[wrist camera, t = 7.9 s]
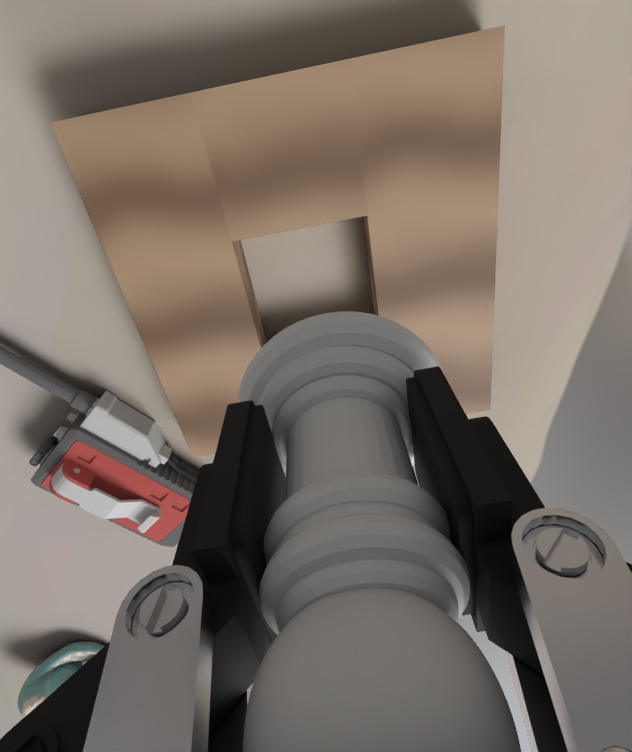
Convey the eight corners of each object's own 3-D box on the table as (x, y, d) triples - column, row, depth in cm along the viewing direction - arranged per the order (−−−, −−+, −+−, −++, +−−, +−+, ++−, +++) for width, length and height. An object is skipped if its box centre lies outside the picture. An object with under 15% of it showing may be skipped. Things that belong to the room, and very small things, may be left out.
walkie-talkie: (249, 471, 35) (-9, 315, 27) (243, 515, 31) (-59, 348, 23) (186, 529, 38) (-61, 404, 30) (173, 575, 34) (-112, 445, 27)
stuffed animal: (152, 738, 46) (26, 773, 44) (157, 666, 52) (47, 693, 50) (125, 688, 40) (-20, 725, 38) (134, 614, 46) (9, 642, 44)
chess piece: (293, 494, 14) (284, 1002, 6) (201, 355, 11) (-36, 934, 3) (463, 435, 13) (723, 955, 5) (405, 267, 10) (765, 802, 2)
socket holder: (73, 121, 22) (49, 122, 20) (483, 33, 20) (504, 25, 18) (199, 434, 32) (192, 457, 30) (476, 388, 31) (490, 409, 29)
